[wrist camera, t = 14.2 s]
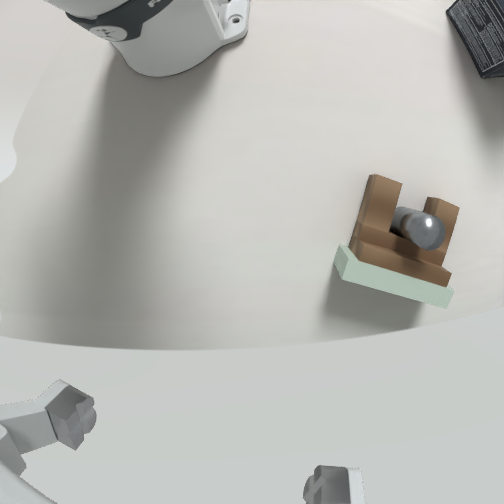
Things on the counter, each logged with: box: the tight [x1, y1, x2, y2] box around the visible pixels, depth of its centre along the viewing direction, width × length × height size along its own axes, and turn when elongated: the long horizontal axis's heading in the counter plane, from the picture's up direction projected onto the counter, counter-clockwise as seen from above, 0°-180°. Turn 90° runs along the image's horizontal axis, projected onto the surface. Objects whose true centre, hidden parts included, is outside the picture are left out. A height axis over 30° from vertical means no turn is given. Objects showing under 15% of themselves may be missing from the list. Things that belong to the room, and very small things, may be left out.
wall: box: [334, 244, 454, 309], centre depth 28 cm, size 2×12×6 cm, turn 76°
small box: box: [446, 0, 504, 79], centre depth 17 cm, size 11×6×10 cm, turn 20°
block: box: [349, 174, 459, 287], centre depth 27 cm, size 8×10×6 cm
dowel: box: [390, 207, 446, 251], centre depth 26 cm, size 3×3×8 cm
